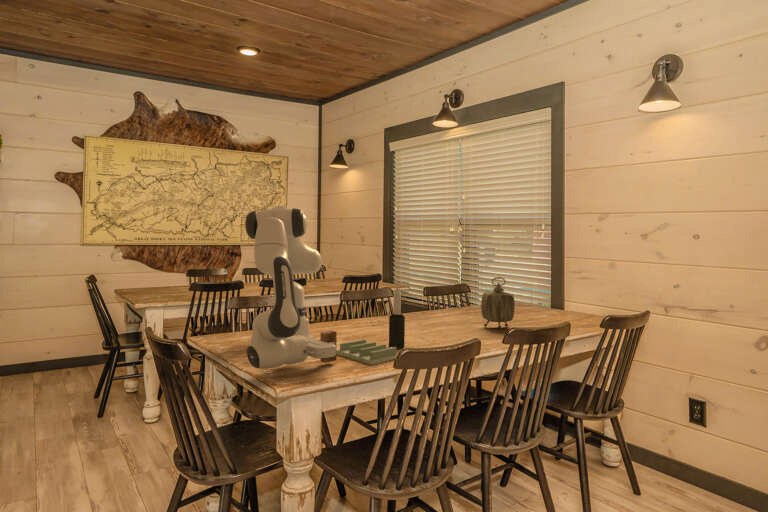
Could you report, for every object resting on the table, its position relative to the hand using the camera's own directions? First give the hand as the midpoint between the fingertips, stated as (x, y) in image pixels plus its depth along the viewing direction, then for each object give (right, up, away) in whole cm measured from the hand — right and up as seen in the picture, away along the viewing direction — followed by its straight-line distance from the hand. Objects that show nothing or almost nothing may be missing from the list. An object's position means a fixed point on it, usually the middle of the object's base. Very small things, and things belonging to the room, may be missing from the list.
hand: (330, 343), depth 168 cm
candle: (+24, -7, +26) cm, 36 cm away
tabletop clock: (+74, -5, +70) cm, 102 cm away
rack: (+13, -7, +12) cm, 19 cm away
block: (-1, -6, 0) cm, 6 cm away
